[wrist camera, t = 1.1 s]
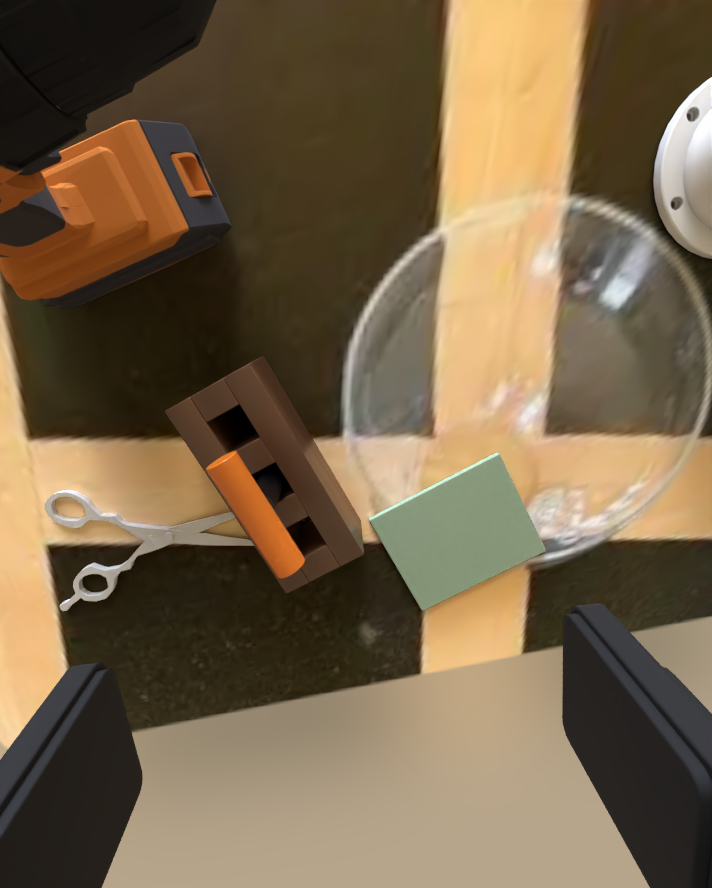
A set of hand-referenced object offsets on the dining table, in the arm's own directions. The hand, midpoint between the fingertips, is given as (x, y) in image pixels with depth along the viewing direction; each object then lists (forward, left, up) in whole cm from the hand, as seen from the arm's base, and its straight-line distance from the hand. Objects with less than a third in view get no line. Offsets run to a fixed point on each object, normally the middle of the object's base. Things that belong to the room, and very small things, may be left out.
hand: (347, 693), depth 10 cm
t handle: (+6, +1, -30) cm, 31 cm away
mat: (-3, +14, -30) cm, 33 cm away
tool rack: (+6, +1, -30) cm, 31 cm away
